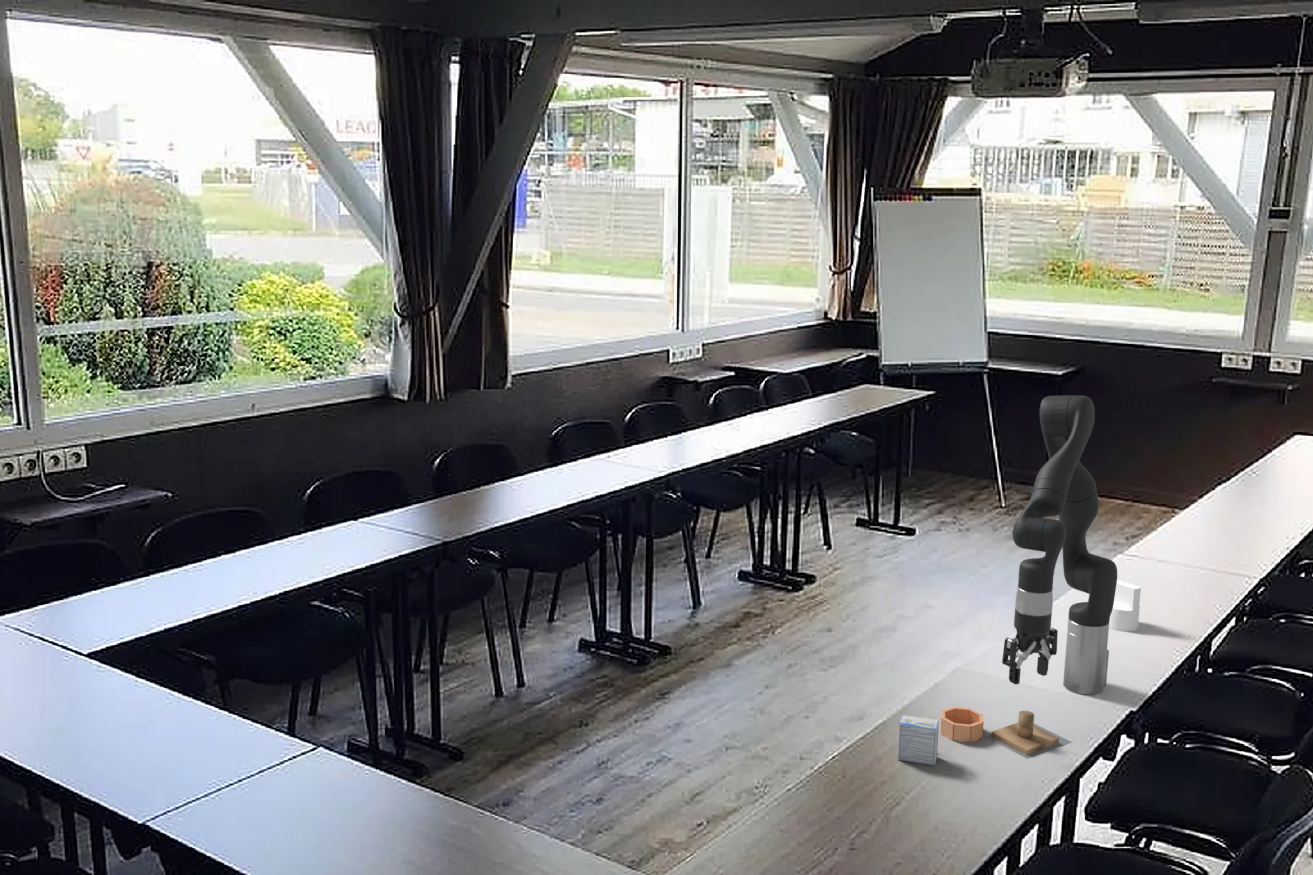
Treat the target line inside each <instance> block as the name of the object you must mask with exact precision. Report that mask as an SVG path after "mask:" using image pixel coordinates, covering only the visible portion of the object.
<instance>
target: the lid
mask: <svg viewBox="0 0 1313 875" xmlns="http://www.w3.org/2000/svg"><path fill="white" fill-rule="evenodd" d="M1017 719H1018V720H1017V721H1018V722H1016V723H1012V724H1010V725H1007V726H1004V727H1002V728H998V729H995V730H992V731H991V733H990V734H991V737H993V738H995V739H996V740H998V741H1000V742H1002V743H1004V744H1006V745H1008V746H1010V747H1012V748H1014V749H1015V750H1017V751H1019V752H1021V753H1023V754H1025V755H1029V754H1032V753H1035V752H1037V751H1040V750H1043V749H1045V748H1048V747H1051V746H1053V745H1056V744H1059V738H1057V737H1055V736H1053V735H1051V734H1049V733H1047V732H1045V731H1043V730H1041V729H1039V728H1037V727H1035V726H1033V725H1034V724H1035V713H1034V712H1031V711H1029V710H1020V711H1019V712H1018V718H1017Z"/></svg>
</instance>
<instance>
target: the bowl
mask: <svg viewBox="0 0 1313 875" xmlns="http://www.w3.org/2000/svg"><path fill="white" fill-rule="evenodd" d="M940 712H941V714H940V733H941V735H943V737H945V738H947V739H949V740H952V741H955V742H959V743H973V742H977V741H979V740H980V739H982V738H983V734H984V715H983V714H982V713H980V712H979V711H976V710H974V709H973V708H970V707H960V706H959V707H958V706H951V707H949V708H946V709H943V710H941V711H940Z"/></svg>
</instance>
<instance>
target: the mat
mask: <svg viewBox="0 0 1313 875" xmlns="http://www.w3.org/2000/svg"><path fill="white" fill-rule="evenodd" d="M1033 726H1035V727H1037V728H1039V729H1041V730H1043V731H1045V732H1047V733H1049V734H1051V735H1053V736H1055V737H1057V738H1059V744H1056V745H1053V746H1051V747H1048V748H1045V749H1043V750H1040V751H1037V752H1035V753H1032V754H1029V755H1025V754H1023V753H1021V752H1019V751H1017V750H1015V749H1014V748H1012V747H1010V746H1008V745H1006V744H1004V743H1002V742H1000V741H998V740H996V739H995V738H993V737H991V733H989V734H987V735H984V737H986V738H987V739H989V740H991V741H992V742H995V743H996V744H998V745H999V746H1002V747H1004V748H1005V749H1008V750H1010V751H1012V752H1013V753H1015V754H1018V755H1019V756H1021V757H1023V758H1025V759H1031V758H1032V757H1036V756H1039V755H1041V754H1044V753H1046V752H1049V751H1052V750H1054V749H1057V748H1060V747H1062V746H1065V745H1068V744H1071V743H1072V740H1068V739H1066V738H1065V737H1062V736H1061V735H1059V734H1056V733H1054V732H1052V731H1051V730H1048V729H1046V728H1044V727H1042V726H1041V725H1038V724H1037V723H1034V725H1033Z"/></svg>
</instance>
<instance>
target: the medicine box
mask: <svg viewBox="0 0 1313 875" xmlns="http://www.w3.org/2000/svg"><path fill="white" fill-rule="evenodd" d="M939 729H940V722H939V720H938V719H932V718H927V717H920V716H919V717H918V716H911V715H905V714H904V715H902V716H901V719H900V721H899V723H898V744H897V746H898V750H897V761H902V762H910V763H917V764H923V765H929V766H936V764H937V763H936V762H937V758H938V747H939Z"/></svg>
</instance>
